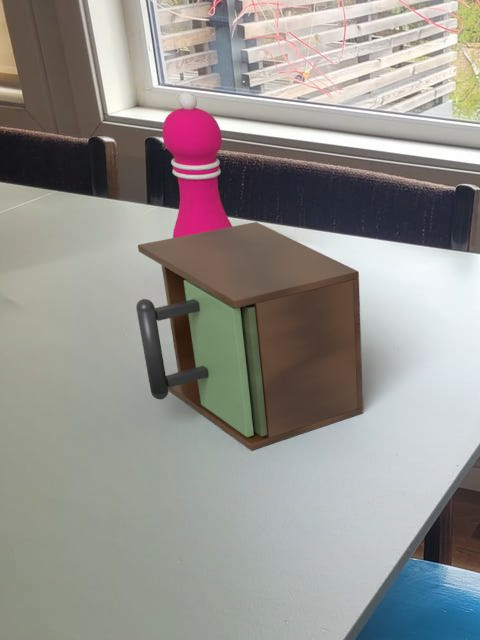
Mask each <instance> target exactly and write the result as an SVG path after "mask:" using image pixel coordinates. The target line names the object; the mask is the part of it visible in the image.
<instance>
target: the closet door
mask: <svg viewBox="0 0 480 640" xmlns="http://www.w3.org/2000/svg"><path fill="white" fill-rule="evenodd" d="M184 287H185V294H186V301H184V302H179V303H175V304H171V305H168V304H166V305H163V306H158V307H155V305H154V303H153V302H152V301H151V300H150V299H147V298H142V299H139V300H138V302H137V303H136V306H135V308H136V315H137V320H138V325H139V332H140V338H141V342H142V343H141V344H142V349H143V354H144V361H145V366H146V371H147V377H148V382H149V389H150V393H151V396H152V397H153V398H154V399H157V400H164V399H166V398H167V396H168V394H169V390H168V387H169V388H170V387H174V386H177V385H181V384H184V383H188V382H191V381H195V380H198V386H199V393H200V400H201V405H203V406H204V407H205V408H207V409H208V410H210V411H211V412H212V413H214V414H215V415H217V416H218V417H219V418H221V419H222V420H224V421H225V422H226V423H228V424H229V425H231V426H232V427H233V428H235V429H236V430H238V431H239V432H240V433H242V434H243V435H245V436H246V437H250V436H253V435H254V431H253V422H252V413H251V404H250V394H249V385H248V376H247V366H246V357H245V348H244V338H243V329H242V320H241V311H240V307H239V308H234V307H233V306H231V305H229V304H227V303H226V302H224V301H222V300H221V299H219V298H217V297H215V296H214V295H212V294H210V293H209V292H207V291H205V290H204V289H202V288H200V287H198V286H197V285H195V284H193V283H192V282H190V281H188V280H184ZM185 314H188V315H189V322H190V329H191V336H192V343H193V350H194V357H195V364H196V368H192V369H189V370H185V371H182V372H178V371H177V372H174V373H172V374H167V375H166V369H165V363H164V357H163V351H162V345H161V339H160V332H159V328H158V327H159V326H158V321H164V320H168V319H170V318H172V317H177V316H181V315H185Z"/></svg>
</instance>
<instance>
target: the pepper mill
mask: <svg viewBox="0 0 480 640" xmlns="http://www.w3.org/2000/svg"><path fill="white" fill-rule="evenodd" d="M178 103H179V105H180V107H181V108H177V109H175V110H173V111H171V112H170V113H169V114H168V115H167V116H166V117H165V119H164V121H163V125H162V139H163V144H164V147H165V148H166V149H167V151H168V152H169V153H170V154H171V155H172V156H173V158H172V159H171V162H170V164H171V165H172V174H173V175H174V176H175V177H177V182H178V187H179V206H178V213H177V216H176V221H175V224H174V228H173V233H172V238H176V237H181V236H186V235H192V234H197V233H202V232H207V231H212V230H217V229H223V228H228V227H233V226H234V225H232V223H231V221H230V219H229V217H228V215H227V213H226V211H225V209H224V206H223V204H222V200H221V196H220V191H219V183H218V181H219V180H218V176H220V174H221V172H222V171H221V168H220V163H221V162H220V160H219V159H218V158H217V154H218V152H219V151H220V150H221V148H222V143H223V138H222V137H223V135H222V132H221V128H220V126H219V124H218V121H217V120H216V119H215V117H214V116H213V115H211V114H210V113H209V112H207V111H206V110H204V109H201V108H197V105H198V100H197V97H196V96H195V95H194V93H193V92H191V91H187V90H185V91H183V92H181V93H180V95H179V97H178Z"/></svg>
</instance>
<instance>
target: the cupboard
mask: <svg viewBox="0 0 480 640" xmlns="http://www.w3.org/2000/svg"><path fill="white" fill-rule="evenodd" d="M232 226H233V227H228V228H223V229H217V230H212V231H207V232H202V233H197V234H192V235H186V236H181V237H176V238H173V237H172V238H171V237H170V238H165V239H161V240H156V241H150V242H146V243H140V244H137V249H138V252H139V253H140V254H142V255H144V256H146V257H148V258H149V259H150V260H153V261H154V262H155V263H157V264H159V265H161V270H162V277H163V284H164V289H165V290H164V291H165V297H166V305H171V304H175V303H179V302H184V301H186V294H185V287H184V280H188V281H190V282H192V283H193V284H195V285H197V286H198V287H200V288H202V289H204V290H205V291H207V292H209V293H210V294H212V295H214V296H215V297H217V298H219V299H221V300H222V301H224V302H226V303H227V304H229V305H231V306H233V307H234V308H239V307H240V311H241V320H242V329H243V338H244V348H245V357H246V366H247V376H248V385H249V394H250V404H251V413H252V422H253V431H254V435H253V436H250V437H246V436H245V435H243V434H242V433H240V432H239V431H238V430H236V429H235V428H233V427H232V426H231V425H229V424H228V423H226V422H225V421H224V420H222V419H221V418H219V417H218V416H217V415H215V414H214V413H212V412H211V411H210V410H208V409H207V408H205V407H204V406H203V405H201V400H200V393H199V386H198V380H195V381H191V382H188V383H184V384H181V385H177V386H174V387H170V388H169V387H168V392H170V393H171V394H172V395H174V396H175V397H177V398H178V399H179V400H181V401H182V402H183V403H185V404H187V405H188V407H191V408H192V409H193V410H195V412H197V413H199V414H200V415H202V416H203V417H204V418H205V419H207V420H208V421H210V422H211V423H213V424H214V425H215V426H217V427H218V428H220V429H221V430H222V431H224V432H225V433H227V435H229V436H231V437H232V439H233V438H234V439H235V440H236V441H237V442H239V443H240V444H242V445H243V446H244V447H246V448H247V449H248V450H250V451H255V450H257V449H260V448H263V447H266V446H269V445H273V444H275V443H278V442H281V441H284V440H287V439H290V438H294V437H296V436H299V435H303V434H304V433H307V432H311V431H314V430H317V429H320V428H322V427H325V426H328V425H332V424H335V423H338V422H341V421H344V420H347V419H350V418H352V417H356V416H359V415H361V414H364V398H363V366H362V334H361V333H362V332H361V329H362V328H361V299H360V297H361V296H360V273H359V271H358V270H357V269H354V268H353V267H350V266H348V265H346V264H345V263H342V262H340V261H338V260H335V259H334V258H331V257H330V256H327V255H326V254H324V253H321V252H319V251H317V250H315V249H313V248H311V247H309V246H307V245H305V244H303V243H300V242H299V241H297V240H295V239H293V238H291V237H288V236H286V235H284V234H282V233H280V232H278V231H276V230H273V229H272V228H270V227H267V226H265V225H263V224H261V223H259V222H257V221H254V222H250V223H244V224H238V225H232ZM169 322H170V329H171V330H170V331H171V337H172V342H173V349H174V356H175V361H176V368H177V373H178V372H182V371H185V370H189V369H192V368H196V364H195V357H194V350H193V343H192V336H191V329H190V322H189V315H188V314H185V315H181V316H177V317H172V318H169Z"/></svg>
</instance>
